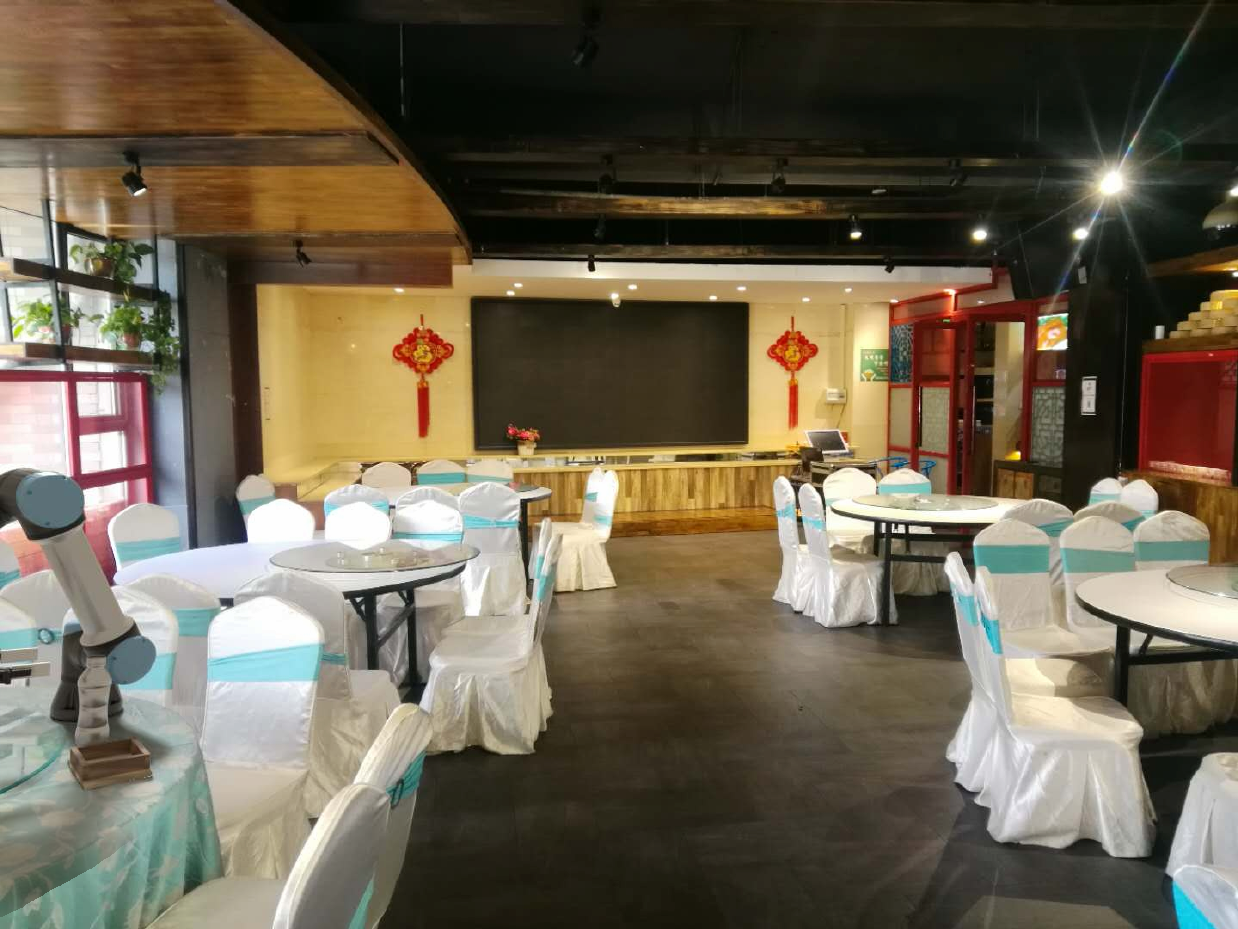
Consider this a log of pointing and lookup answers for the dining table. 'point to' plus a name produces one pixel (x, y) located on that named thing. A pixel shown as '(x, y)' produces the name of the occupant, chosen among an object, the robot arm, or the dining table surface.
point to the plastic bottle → (93, 702)
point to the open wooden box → (109, 762)
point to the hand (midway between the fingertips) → (43, 661)
